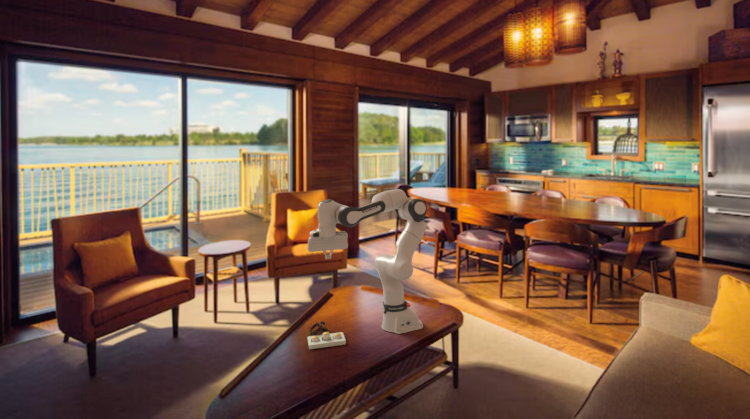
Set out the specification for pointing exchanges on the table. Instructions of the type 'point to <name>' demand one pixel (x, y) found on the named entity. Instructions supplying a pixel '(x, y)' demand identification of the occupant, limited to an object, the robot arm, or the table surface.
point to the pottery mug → (320, 329)
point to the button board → (327, 343)
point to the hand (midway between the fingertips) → (328, 258)
